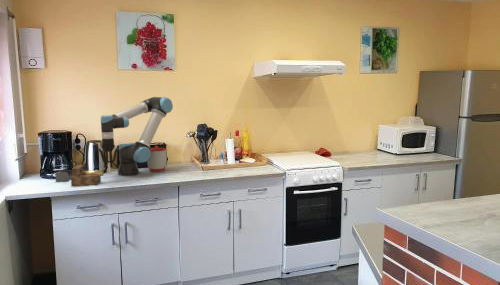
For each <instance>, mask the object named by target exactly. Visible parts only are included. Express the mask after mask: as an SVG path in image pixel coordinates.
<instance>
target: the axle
mask: <svg viewBox="0 0 500 285" xmlns="http://www.w3.org/2000/svg"><path fill="white" fill-rule="evenodd" d="M80 175H98V176H101V177H103V176H104V170H103V169H100V170H97V169H96V170H83V171H80Z"/></svg>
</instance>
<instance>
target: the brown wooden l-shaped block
mask: <svg viewBox="0 0 500 285" xmlns="http://www.w3.org/2000/svg"><path fill="white" fill-rule="evenodd" d="M75 165H76V164H75ZM75 165H74V166H75ZM74 166H73V167H74ZM73 167H71V168H72V169H71V180H70V185H71V187H72V186H73V187H90V186H89V185H95V186H98V185H99V184H100V183H101V180H102V178H101V177H102V176H98V175H80V171H84V165H83V164H77V165H76V166H75V167H74V168H73ZM99 182H100V183H99Z"/></svg>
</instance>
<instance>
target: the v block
mask: <svg viewBox="0 0 500 285" xmlns="http://www.w3.org/2000/svg"><path fill="white" fill-rule="evenodd" d="M54 174H55V182H56V183H66V182H71V176H72V169H71V170H60V169H59V170H58V172H54Z"/></svg>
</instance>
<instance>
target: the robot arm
mask: <svg viewBox="0 0 500 285" xmlns="http://www.w3.org/2000/svg"><path fill="white" fill-rule="evenodd" d="M173 106H174V105H173V102H172V99H170V98H169V97H166V96H161V97H159V96H153V97H150V98H146V99H145V100H142V101H140V102H139V104H136V105H133V106H131V107H129V108H125V109H124V110H120V111H119V112H116V113H114V114H106V115H105V114H104V115H101V116H100V128H101V147H99V148H98V152H99V153H100V157H101V159H102V162H103V163H105V166H106V169H107V172H108V173H112V168H113V163H114V162H115V161H116V159H117V154H119V166H118V170H117V175H119V176H123V177H124V176H136V175H138V174H139V173H140V170H139V168H138V165H137V163H139V164H140V163H142V164H143V163H147V160H148V159H149V158H150V155H151V153H150V148H151V146H150V145H151V143H152V142H153V139H154V137H155V135H156V133H157V130H158V128H159V126H160V124H161V122H162V120H163V118H165V117H166V116H167V115H168V114H169V113H171V112H172V110H173ZM147 113H151V115H150V117H149V119H148V120H147V123H146V124H145V126H144V128H143V131H142V133H141V135H140V137H139V139H138V140H136V141H135V142H129V143H123V144H119V146H118V147H116V145H115V138H114V130H115V129H125V128H128V127H129V126H130V119H133V118H135V117H138V116H140V115H143V114H147ZM113 150H114V154H113ZM103 151H104V152H103ZM118 151H119V153H118Z"/></svg>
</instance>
